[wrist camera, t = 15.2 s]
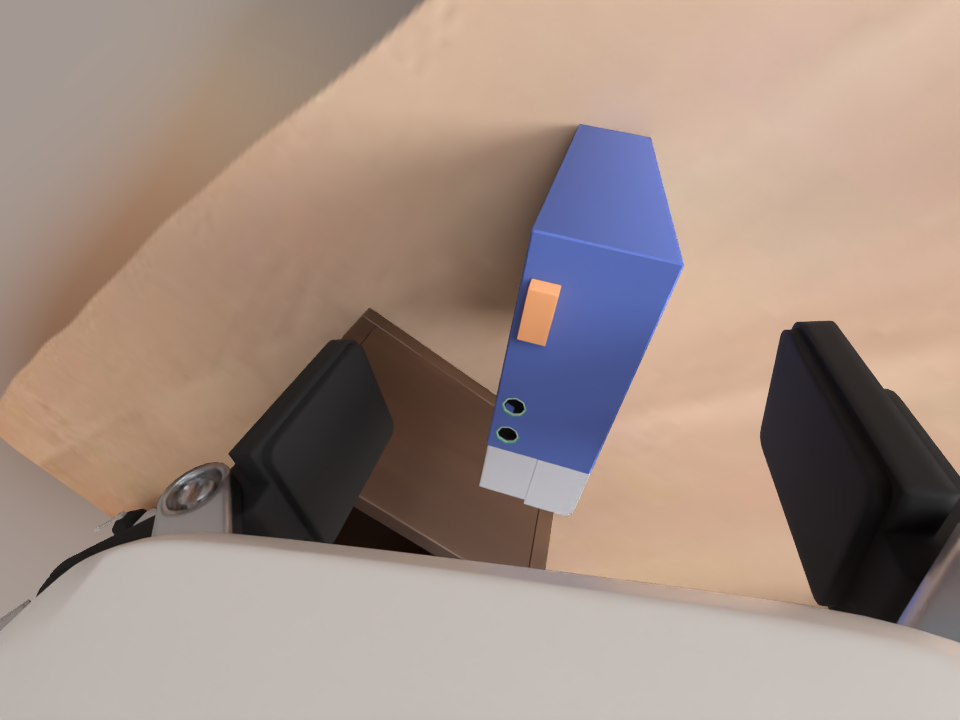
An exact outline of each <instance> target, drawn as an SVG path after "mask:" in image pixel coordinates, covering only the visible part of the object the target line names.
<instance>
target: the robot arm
mask: <svg viewBox="0 0 960 720" xmlns="http://www.w3.org/2000/svg"><path fill="white" fill-rule="evenodd" d="M393 430H394V423H393V419H392V417H391V414H390V412H389V410H388V407H387V405H386V402H385V400H384V397H383V395H382V392H381V390H380V387H379V385H378V382H377V380H376V377H375V375H374V373H373V370H372V368H371V365H370V363H369V360H368V358H367V355H366V353H365V350H364V348H363V347H362V346H361V345H359V344H358V343H357V342H356V341H355V340H353V339H343V340H331V341H330V342H328V343H327V344H326V345H325V347H324V348H323V349H322V350H321V351H320V352H319V353H318V354H317V356H316V357H315V358H314V359H313V360H312V361H311V362H310V363H309V364H308V366H307V367H306V368H305V369H304V370H303V371H302V372H301V373H300V374H299V376H298V377H297V378H296V379H295V380H294V381H293V382H292V383H291V384H290V386H289V387H288V388H287V389H286V390H285V391H284V392H283V393H282V394H281V396H280V397H279V398H278V399H277V400H276V401H275V402H274V403H273V404H272V406H271V407H270V408H269V409H268V410H267V411H266V412H265V413H264V414H263V416H262V417H261V418H260V419H259V420H258V421H257V422H256V423H255V424H254V426H253V427H252V428H251V429H250V430H249V431H248V432H247V433H246V434H245V436H244V437H243V438H242V439H241V440H240V441H239V442H238V443H237V445H236V446H235V447H234V448H233V449H232V450H231V451H230V452H229V453H228V454H229V455H230V457H231V458H232V460H233V461H234V462H235V465H234V466H233V467H232V468H231V469H229V467H228V466H226V465H225V464H224V463H219V462H213V463H207V464H204V465H201V466H198V467H195V468H194V469H192V470H190V471H188V472H186V473H185V474H183V475H182V476H180V477H179V478H177V479H176V480H175V481H174V482H173V483H172V484H171V485H170V486H169V487H168V488H167V489H166V490H165V491H164V493H163V494H162V496H161V497H160V500H159V502H158V505H157V510H156V515H154V516H152V517H150V518H148V519H146V520H144V521H142V522H140V523H138V524H136V525H134V526H132V527H130V528H128V529H126V530H124V531H122V532H120V533H118V534H116V535H114V536H112V537H110V538H108V539H106V540H104V541H102V542H100V543H98V544H96V545H94V546H92V547H90V548H88V549H86V550H84V551H82V552H81V553H79V554H77V555H74V556H72V557H71V558H68V559H67V560H65V561H64V562H62V563H61V564H60V565H59V566H58V567H57V568H56V569H55V570H54V571H53V572H52V573H51V574H50V577H49V578H48V579H47V580H46V581H45V583H44V584H43V585H42V587H41V588H40V590H39V592H38V594H37V596H36V598H35V599H34V600H33V601H30V600H27V601H26V602H24V603H23V604H21V605H20V606H18V607H17V608H16V609H14V610H13V611H11V612H10V613H8V614H7V615H5V616H4V617H2V618H1V619H0V720H960V476H959V475H958V473H957V472H956V471H955V469H954V468H953V467H952V465H951V464H950V463H949V462H948V460H947V459H946V458H945V456H944V455H943V454H942V452H941V451H940V450H939V448H938V447H937V446H936V444H935V443H934V442H933V440H932V439H931V438H930V437H929V435H928V434H927V433H926V431H925V430H924V429H923V427H922V426H921V425H920V423H919V422H918V421H917V419H916V418H915V417H914V415H913V414H912V413H911V412H910V410H909V409H908V408H907V406H906V405H905V404H904V402H903V401H902V400H901V398H900V397H899V396H898V395H897V394H896V393H895V392H894V391H891V390H889V389H883V387H882V386H881V385H880V383H879V382H878V380H877V379H876V378H875V376H874V375H873V374H872V372H871V371H870V370H869V368H868V367H867V365H866V364H865V363H864V361H863V360H862V359H861V357H860V356H859V355H858V353H857V352H856V350H855V349H854V348H853V346H852V345H851V344H850V342H849V341H848V340H847V338H846V337H845V335H844V334H843V333H842V331H841V330H840V329H839V327H838V326H837V325H836V323H834V322H833V321H811V322H796V323H795V324H794V326H793V327H792V330H784V331H783V332H782V333H781V336H780V341H779V346H778V350H777V355H776V360H775V364H774V369H773V374H772V379H771V383H770V388H769V393H768V397H767V402H766V407H765V412H764V416H763V421H762V426H761V431H760V440H761V446H762V449H763V452H764V455H765V458H766V461H767V464H768V467H769V470H770V473H771V476H772V478H773V481H774V484H775V487H776V490H777V493H778V496H779V499H780V502H781V505H782V507H783V510H784V513H785V516H786V519H787V522H788V525H789V528H790V531H791V534H792V536H793V539H794V542H795V545H796V548H797V551H798V554H799V557H800V560H801V562H802V565H803V568H804V571H805V574H806V577H807V580H808V583H809V586H810V589H811V591H812V594H813V597H814V599H815V601H816V602H817V604H819V605H821V606H828V608H829V609H824V608H818V607H813V606H807V605H802V604H796V603H789V602H782V601H775V600H768V599H761V598H754V597H747V596H740V595H733V594H726V593H719V592H712V591H705V590H698V589H691V588H683V587H676V586H668V585H660V584H652V583H644V582H636V581H629V580H621V579H613V578H605V577H597V576H589V575H582V574H574V573H566V572H558V571H550V570H542V569H535V568H526V567H518V566H510V565H502V564H494V563H486V562H478V561H470V560H461V559H453V558H445V557H437V556H429V555H420V554H412V553H404V552H396V551H387V550H379V549H370V548H362V547H353V546H344V545H336V544H332V543H333V542H334V541H335V539H336V538H337V536H338V534H339V532H340V530H341V528H342V527H343V525H344V523H345V521H346V519H347V517H348V516H349V514H350V512H351V510H352V508H353V506H354V504H355V503H356V501H357V499H358V497H359V495H360V493H361V492H362V490H363V488H364V486H365V484H366V482H367V480H368V479H369V477H370V475H371V473H372V471H373V469H374V468H375V466H376V464H377V462H378V460H379V458H380V456H381V455H382V453H383V451H384V449H385V447H386V445H387V444H388V442H389V440H390V438H391V436H392V434H393Z"/></svg>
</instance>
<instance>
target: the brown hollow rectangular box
mask: <svg viewBox="0 0 960 720" xmlns="http://www.w3.org/2000/svg"><path fill="white" fill-rule="evenodd" d="M343 339H353V340H355V341H356V342H357V343H358V344H359V345H361V346H362V347H363V348H364V350H365V353H366V355H367V358H368V360H369V363H370V365H371V368H372V370H373V373H374V375H375V377H376V380H377V382H378V385H379V387H380V390H381V392H382V395H383V397H384V400H385V402H386V405H387V407H388V410H389V412H390V414H391V417H392V419H393V423H394V430H393V434H392V436H391V438H390V440H389V442H388V444H387V445H386V447H385V449H384V451H383V453H382V455H381V456H380V458H379V460H378V462H377V464H376V466H375V468H374V469H373V471H372V473H371V475H370V477H369V479H368V480H367V482H366V484H365V486H364V488H363V490H362V492H361V493H360V495H359V497H358V499H357V501H356V503H355V504H354V506H353V508H352V510H351V512H350V514H349V516H348V517H347V519H346V521H345V523H344V525H343V527H342V528H341V530H340V532H339V534H338V536H337V538H336V539H335V541H334V542H333V543H332V544H336V545H344V546H353V547H362V548H370V549H379V550H387V551H396V552H404V553H412V554H420V555H429V556H437V557H445V558H453V559H461V560H470V561H478V562H486V563H494V564H502V565H510V566H518V567H526V568H535V569H542V570H545V568H546V561H547V554H548V547H549V540H550V533H551V526H552V519H553V512H550V511H546V510H543V509H540V508H536V507H533V506H530V505H526V504H524V499H521V498H517V497H514V496H511V495H507V494H504V493H501V492H497V491H494V490H490V489H487V488H484V487H480V486H479V484H480V479H481V475H482V470H483V465H484V461H485V456H486V451H487V447H488V445H487V440H488V435H489V430H490V425H491V421H492V416H493V411H494V406H495V402H496V397H497V396H496V395H494V394H493V393H491V392H490V391H489V390H487V389H486V388H484V387H483V386H481V385H480V384H478V383H477V382H476V381H474V380H473V379H471V378H470V377H468V376H467V375H465V374H464V373H463V372H461V371H460V370H458V369H457V368H455V367H454V366H453V365H451V364H450V363H448V362H447V361H445V360H444V359H442V358H441V357H440V356H438V355H437V354H435V353H434V352H432V351H431V350H430V349H428V348H427V347H425V346H424V345H422V344H421V343H419V342H418V341H417V340H415V339H414V338H412V337H411V336H409V335H408V334H407V333H405V332H404V331H402V330H401V329H399V328H398V327H396V326H395V325H394V324H392V323H391V322H389V321H388V320H386V319H385V318H384V317H382V316H381V315H379V314H378V313H376V312H375V311H373V310H372V309H371V308H369V309H368V310H367V311H366V312H365V313H364V314H363V315H362V316H361V317H360V319H359V320H358V321H357V322H356V323H355V324H354V325H353V326H352V327H351V328H350V330H349V331H348V332H347V333H346V334H345V335H344V336H343V337H342V338H341V339H340V340H343Z"/></svg>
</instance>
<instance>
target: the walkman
mask: <svg viewBox="0 0 960 720" xmlns="http://www.w3.org/2000/svg"><path fill="white" fill-rule="evenodd" d="M683 267H684V263H683V259H682V255H681V252H680V248H679V244H678V240H677V236H676V233H675V229H674V225H673V221H672V217H671V213H670V210H669V206H668V202H667V198H666V194H665V190H664V187H663V183H662V179H661V175H660V171H659V167H658V164H657V160H656V156H655V152H654V148H653V144H652V141H651V138H650V137H644V136H639V135H634V134H629V133H624V132H619V131H613V130H608V129H603V128H598V127H593V126H588V125H583V124H580V125H579V127H578V129H577V131H576V133H575V136H574V138H573V140H572V142H571V144H570V147H569V149H568V151H567V153H566V155H565V158H564V160H563V162H562V164H561V166H560V169H559V171H558V173H557V175H556V177H555V180H554V182H553V184H552V186H551V188H550V191H549V193H548V195H547V197H546V199H545V202H544V204H543V206H542V208H541V210H540V213H539V215H538V217H537V219H536V221H535V224H534V226H533V228H532V231H531V235H530V240H529V245H528V250H527V254H526V259H525V264H524V269H523V273H522V278H521V283H520V288H519V292H518V297H517V302H516V307H515V311H514V316H513V321H512V326H511V330H510V335H509V340H508V345H507V349H506V354H505V359H504V364H503V368H502V373H501V378H500V383H499V387H498V392H497V397H496V402H495V406H494V411H493V416H492V421H491V425H490V430H489V435H488V440H487V445H488V447H487V451H486V456H485V461H484V465H483V470H482V475H481V479H480V484H479V486H480V487H484V488H487V489H490V490H494V491H497V492H501V493H504V494H507V495H511V496H514V497H517V498H521V499H524V504H526V505H530V506H533V507H536V508H540V509H543V510H546V511H550V512H553V513H556V514H560V515H563V516H566V517H567V516H568V514H570V515H572V513H573V511H574V509H575V507H576V504H577V502H578V500H579V498H580V496H581V493H582V491H583V489H584V487H585V484H586V482H587V480H588V478H589V476H590V473H591V471H592V468H593V466H594V464H595V462H596V459H597V457H598V455H599V453H600V451H601V448H602V446H603V444H604V442H605V440H606V437H607V435H608V433H609V431H610V428H611V426H612V424H613V422H614V420H615V417H616V415H617V413H618V411H619V409H620V406H621V404H622V402H623V400H624V397H625V395H626V393H627V391H628V389H629V386H630V384H631V382H632V380H633V378H634V375H635V373H636V371H637V369H638V366H639V364H640V362H641V360H642V358H643V355H644V353H645V351H646V349H647V347H648V344H649V342H650V340H651V338H652V336H653V333H654V331H655V329H656V327H657V324H658V322H659V320H660V318H661V316H662V313H663V311H664V309H665V307H666V305H667V302H668V300H669V298H670V296H671V293H672V291H673V289H674V287H675V285H676V282H677V280H678V278H679V276H680V274H681V271H682V269H683Z"/></svg>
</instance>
